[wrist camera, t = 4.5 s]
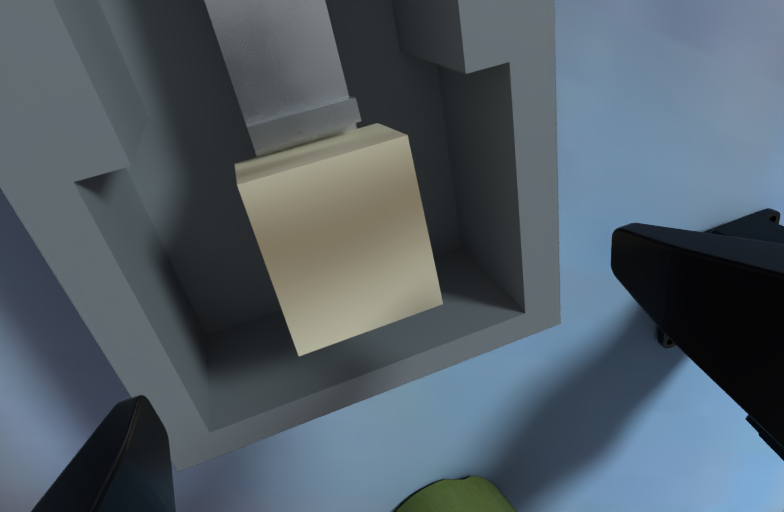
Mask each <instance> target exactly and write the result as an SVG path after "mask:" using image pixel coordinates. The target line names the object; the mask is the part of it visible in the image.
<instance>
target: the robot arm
mask: <svg viewBox="0 0 784 512" xmlns="http://www.w3.org/2000/svg"><path fill="white" fill-rule="evenodd" d="M779 220H780V213H779V212H778V211H775V210H773V209H770V208H768V209H765V210H762V211H759V212H757V213H754V214H751V215H748V216H746V217H743V218H740V219H738V220H735V221H732V222H730V223H727V224H724V225H722V226H719V227H716V228H714V229H711V230H708V231H705V232H696V231H689V230H682V229H675V228H668V227H662V226H655V225H648V224H641V223H631V224H628V225H625V226H622V227H619V228H617V229H616V230H614V232H613V234H612V246H611V268H612V271H613V273H614V275H615V277H616V278H617V279H618V280H619V281H620V283H621V284H622V285H623V286H624V287H625V289H626V290H627V291H628V292H629V293H630V294H631V296H632V297H633V298H634V299H635V300H636V301H637V303H638V304H639V305H640V306H641V307H642V309H643V310H644V311H645V312H646V313H647V314H648V316H649V317H650V318H651V319H652V320H653V321H654V323H655V324H656V325H657V326H658V327H659V331H658V343H659V344H660V345H662V346H663V347H664V348H671V347H673V346H675V345H677V346H678V347H679V348H680V349H681V350H682V351H683V352H684V353H685V354H686V355H687V356H688V357H689V358H690V359H691V360H692V361H693V362H694V363H695V364H696V365H697V366H699V367H700V368H701V369H702V370H703V371H704V372H705V373H706V374H707V375H708V376H709V377H710V378H711V379H712V380H713V381H714V382H715V383H716V384H717V385H718V386H719V387H720V388H721V389H723V390H724V391H725V392H726V393H727V394H728V395H729V396H730V397H731V398H732V399H733V400H734V401H735V402H736V403H737V404H738V405H739V406H740V407H741V408H742V409H743V410H744V411H745V412H746V413H748V416H747V417H746V420H747V421H748V422H749V423H750V424H751V425H752V426H753V427H754V429H755V430H756V431H757V432H758V433H759V434H758V435H759V436H760V437H761V438H762V439H763V440H764V441H765V442H766V443H767V444H768V445H769V446H770V447H771V448H772V449H773V450H774V451H775V452H776V453H777V454H778V455H779V457H780V458H781V459H782V460H783V461H784V226H782V225H779ZM31 512H176V509H175V499H174V488H173V477H172V467H171V456H170V446H169V438H168V434H167V431H166V428H165V426H164V425H163V423H162V421H161V420H160V418H159V416H158V415H157V413H156V411H155V409H154V408H153V406H152V404H151V403H150V401H149V400H148V398H147V397H145V396H143V395H138V396H135V397H132V398H129V399H127V400H124V401H121V402H119V403H117V404H116V405H115V406H114V407H113V409H112V410H111V411H110V412H109V414H108V415H107V416H106V418H105V419H104V420H103V421H102V423H101V424H100V425H99V426H98V428H97V429H96V430H95V431H94V433H93V434H92V435H91V436H90V438H89V439H88V440H87V441H86V443H85V444H84V445H83V447H82V448H81V449H80V450H79V452H78V453H77V454H76V455H75V457H74V458H73V459H72V460H71V462H70V463H69V464H68V465H67V467H66V468H65V469H64V470H63V472H62V473H61V474H60V476H59V477H58V478H57V479H56V481H55V482H54V483H53V484H52V486H51V487H50V488H49V489H48V491H47V492H46V493H45V494H44V496H43V497H42V498H41V499H40V501H39V502H38V503H37V504H36V506H35V507H34V508H33V510H32V511H31Z"/></svg>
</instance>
